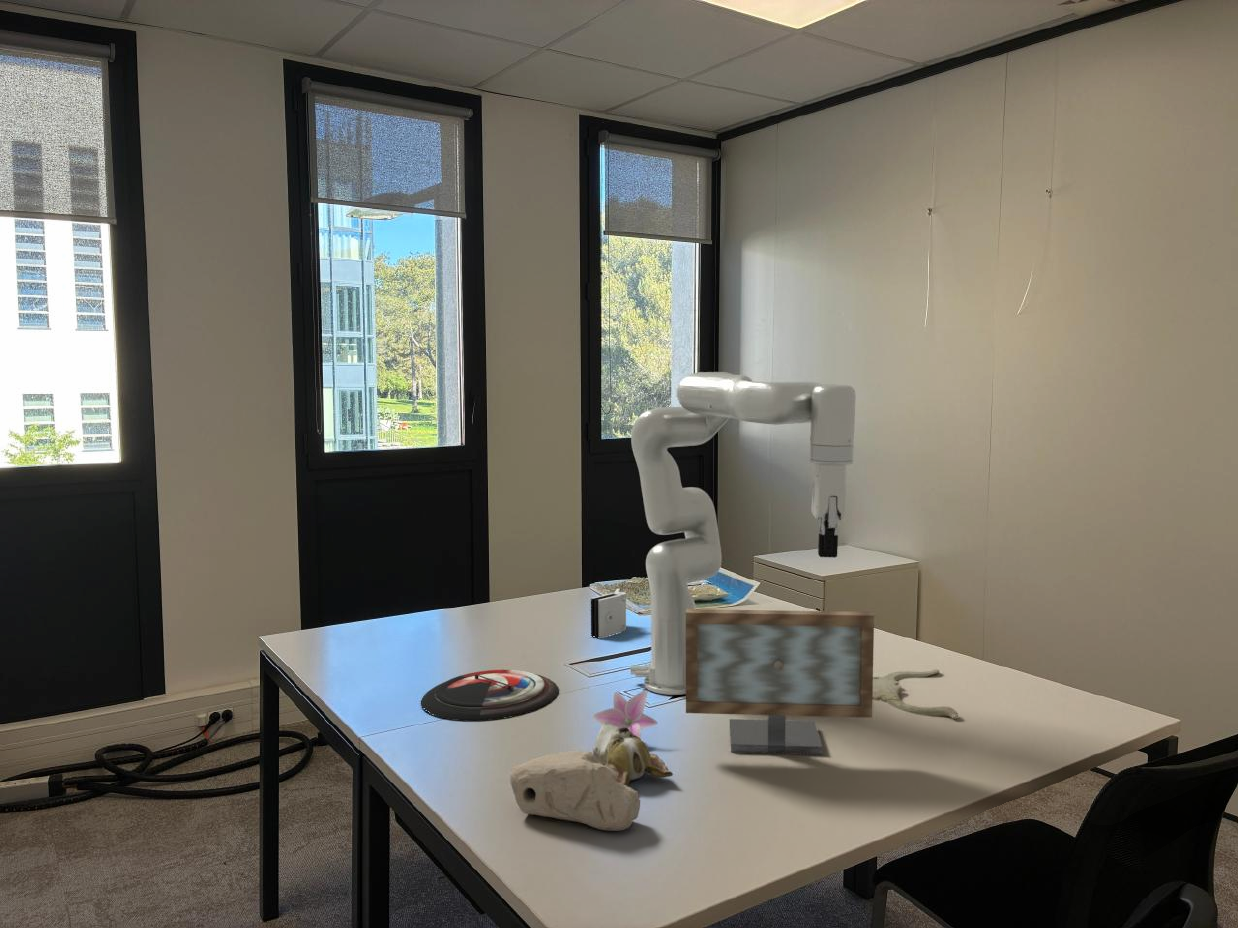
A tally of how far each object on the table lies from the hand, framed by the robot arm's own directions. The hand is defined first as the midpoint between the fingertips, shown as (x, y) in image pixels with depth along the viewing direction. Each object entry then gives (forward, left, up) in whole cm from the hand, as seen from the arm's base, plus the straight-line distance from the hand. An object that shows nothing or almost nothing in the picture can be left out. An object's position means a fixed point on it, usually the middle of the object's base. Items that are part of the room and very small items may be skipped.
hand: (827, 556), depth 168 cm
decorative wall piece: (+14, +28, -35) cm, 47 cm away
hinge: (-47, +69, -35) cm, 91 cm away
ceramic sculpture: (-35, -17, -35) cm, 52 cm away
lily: (-36, -3, -35) cm, 50 cm away
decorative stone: (-42, -32, -35) cm, 63 cm away
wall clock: (-67, +19, -35) cm, 78 cm away
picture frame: (-9, -8, -27) cm, 29 cm away
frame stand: (-9, 0, -35) cm, 36 cm away
